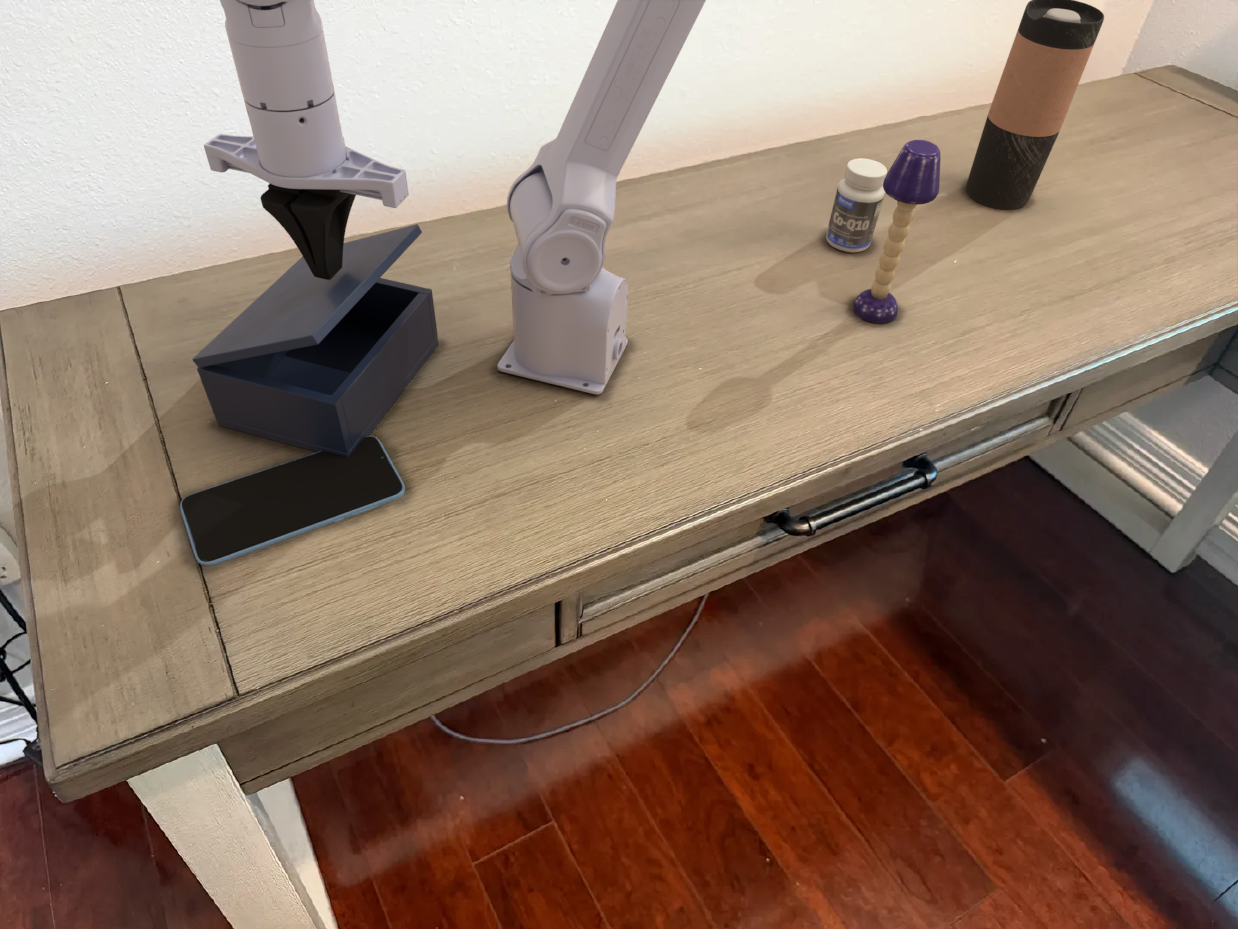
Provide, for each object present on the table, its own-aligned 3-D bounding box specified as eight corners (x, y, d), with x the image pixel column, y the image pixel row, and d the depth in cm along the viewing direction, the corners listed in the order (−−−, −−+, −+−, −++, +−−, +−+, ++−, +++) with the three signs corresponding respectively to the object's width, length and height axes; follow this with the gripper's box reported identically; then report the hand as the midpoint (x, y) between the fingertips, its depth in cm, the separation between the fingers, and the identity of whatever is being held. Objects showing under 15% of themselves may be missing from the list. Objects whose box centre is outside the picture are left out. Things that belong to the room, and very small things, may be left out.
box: (439, 344, 79) (432, 289, 75) (349, 461, 68) (335, 404, 64) (322, 316, 81) (309, 261, 77) (217, 425, 70) (196, 368, 66)
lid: (422, 232, 71) (417, 223, 71) (318, 344, 60) (311, 335, 60) (311, 260, 77) (306, 252, 76) (198, 367, 66) (191, 359, 66)
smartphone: (175, 496, 65) (375, 430, 70) (179, 504, 65) (377, 438, 71) (198, 567, 60) (409, 490, 66) (201, 575, 61) (410, 498, 66)
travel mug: (1038, 190, 104) (1113, 7, 90) (1021, 218, 99) (1097, 29, 85) (974, 171, 107) (1036, -9, 92) (954, 197, 102) (1017, 11, 88)
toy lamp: (904, 327, 84) (959, 159, 72) (855, 327, 83) (903, 158, 72) (890, 297, 87) (940, 132, 75) (843, 297, 87) (887, 131, 75)
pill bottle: (820, 246, 93) (838, 171, 87) (830, 225, 96) (848, 151, 90) (865, 257, 92) (886, 182, 86) (874, 236, 95) (895, 161, 89)
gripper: (418, 88, 60) (438, 263, 69) (228, 54, 62) (273, 227, 72) (367, 131, 55) (396, 313, 65) (163, 92, 57) (221, 273, 67)
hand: (328, 271), depth 68 cm, fingers closed
